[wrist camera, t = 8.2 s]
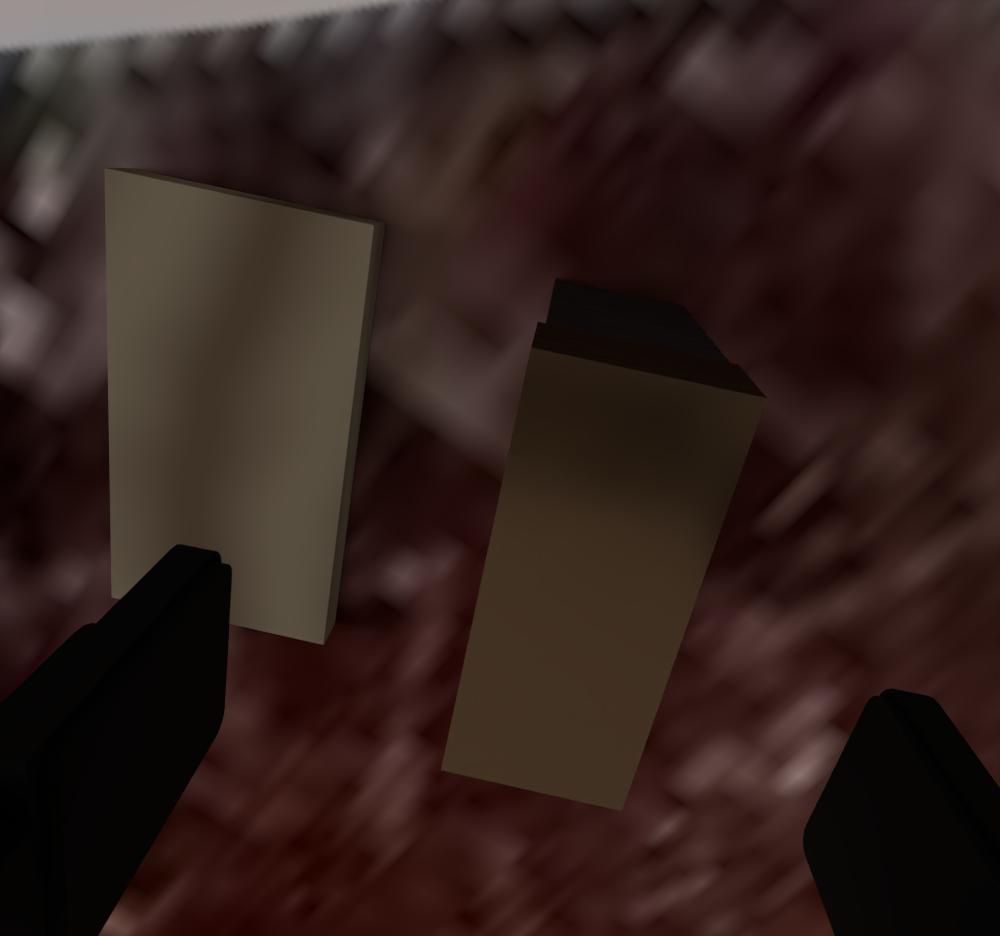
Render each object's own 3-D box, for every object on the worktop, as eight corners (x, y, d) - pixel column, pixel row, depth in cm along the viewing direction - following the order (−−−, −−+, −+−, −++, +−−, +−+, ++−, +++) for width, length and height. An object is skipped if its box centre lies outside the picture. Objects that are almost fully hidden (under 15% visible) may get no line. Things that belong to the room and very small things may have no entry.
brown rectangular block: (688, 306, 19) (767, 398, 11) (606, 588, 23) (621, 810, 15) (550, 277, 20) (531, 347, 12) (488, 562, 23) (440, 770, 15)
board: (385, 222, 19) (373, 225, 18) (335, 623, 24) (323, 644, 23) (131, 168, 19) (104, 168, 18) (133, 578, 24) (111, 597, 23)
